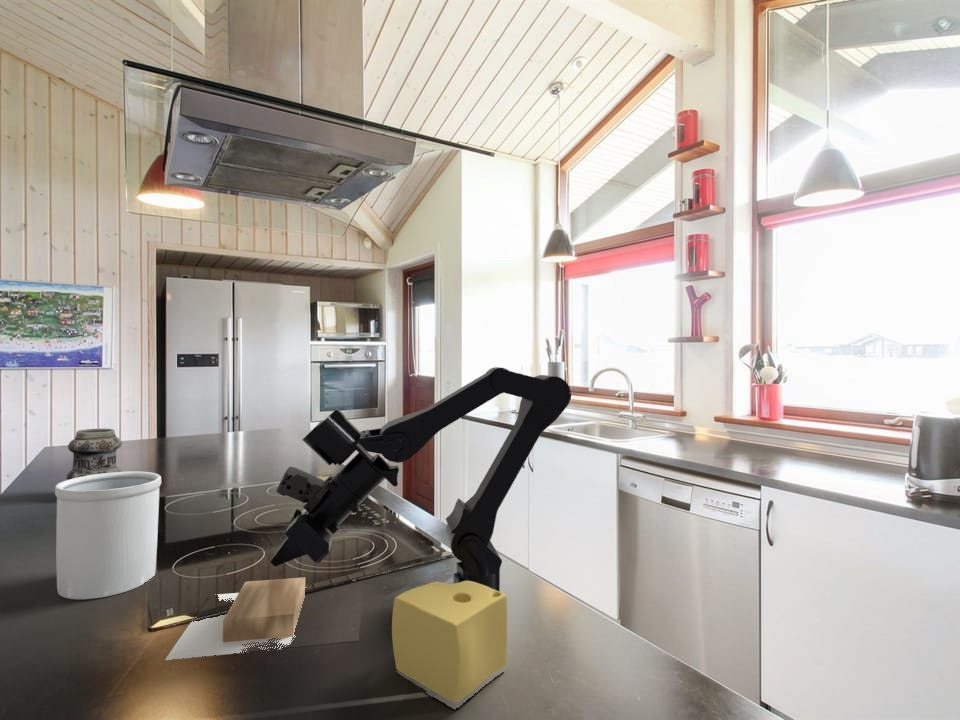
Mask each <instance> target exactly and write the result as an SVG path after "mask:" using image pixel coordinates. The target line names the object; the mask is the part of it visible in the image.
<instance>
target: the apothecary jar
mask: <svg viewBox="0 0 960 720" xmlns="http://www.w3.org/2000/svg"><path fill="white" fill-rule="evenodd" d="M115 432H116V431H115V429H113V428H89V429H88V428H87V429H80V430H76V433H75V434H76V435H75V436H74V438H73V439H72V440H70V442H69V443H68V445H67V448H68V450H69V451H70V452H71V453H73V459H72V460H73V461H72V462H73V463H72V469H71V470H70V471H69V472H68V473H67V474H66V480H69V479H73V478H77V477H82V476H88V475H94V474H102V473H112V472H122V469H121V468H120V467H119V466H117V450H118V449H119V448H121V446H122V444H123V443H122V440H121V438H120V437H118V436H116V433H115Z"/></svg>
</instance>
